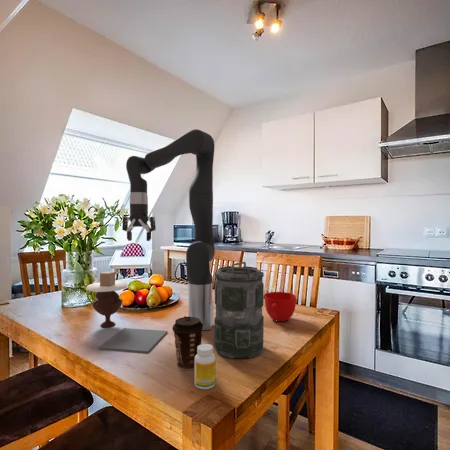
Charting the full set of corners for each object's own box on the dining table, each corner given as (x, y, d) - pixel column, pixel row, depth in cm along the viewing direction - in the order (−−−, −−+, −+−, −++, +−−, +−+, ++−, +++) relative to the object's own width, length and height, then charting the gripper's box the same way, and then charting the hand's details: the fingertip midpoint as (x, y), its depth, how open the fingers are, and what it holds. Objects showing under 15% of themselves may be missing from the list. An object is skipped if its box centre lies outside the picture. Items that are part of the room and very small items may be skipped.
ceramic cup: (257, 325, 119) (257, 299, 119) (269, 312, 135) (269, 290, 134) (289, 330, 114) (290, 304, 114) (298, 317, 129) (299, 293, 129)
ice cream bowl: (113, 331, 112) (112, 291, 112) (86, 329, 114) (86, 289, 114) (127, 321, 123) (127, 284, 122) (103, 319, 125) (102, 283, 124)
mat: (167, 332, 111) (167, 330, 111) (148, 353, 94) (148, 351, 94) (124, 329, 114) (124, 327, 114) (98, 348, 97) (98, 347, 97)
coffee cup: (189, 355, 93) (189, 313, 93) (209, 363, 88) (209, 319, 88) (167, 365, 86) (167, 320, 86) (187, 375, 81) (187, 327, 81)
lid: (134, 284, 124) (134, 269, 124) (115, 292, 109) (115, 276, 109) (100, 282, 127) (100, 268, 126) (77, 290, 112) (77, 275, 112)
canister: (231, 335, 109) (232, 257, 108) (271, 346, 100) (272, 261, 99) (204, 351, 96) (204, 263, 95) (247, 365, 87) (247, 268, 86)
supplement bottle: (191, 381, 78) (191, 344, 78) (210, 376, 81) (210, 341, 80) (199, 392, 74) (199, 353, 73) (218, 386, 76) (219, 349, 76)
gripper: (157, 203, 133) (157, 240, 134) (127, 203, 136) (127, 239, 136) (150, 202, 126) (151, 241, 126) (119, 203, 128) (119, 241, 129)
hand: (139, 240), depth 131 cm, fingers open, 8 cm apart
